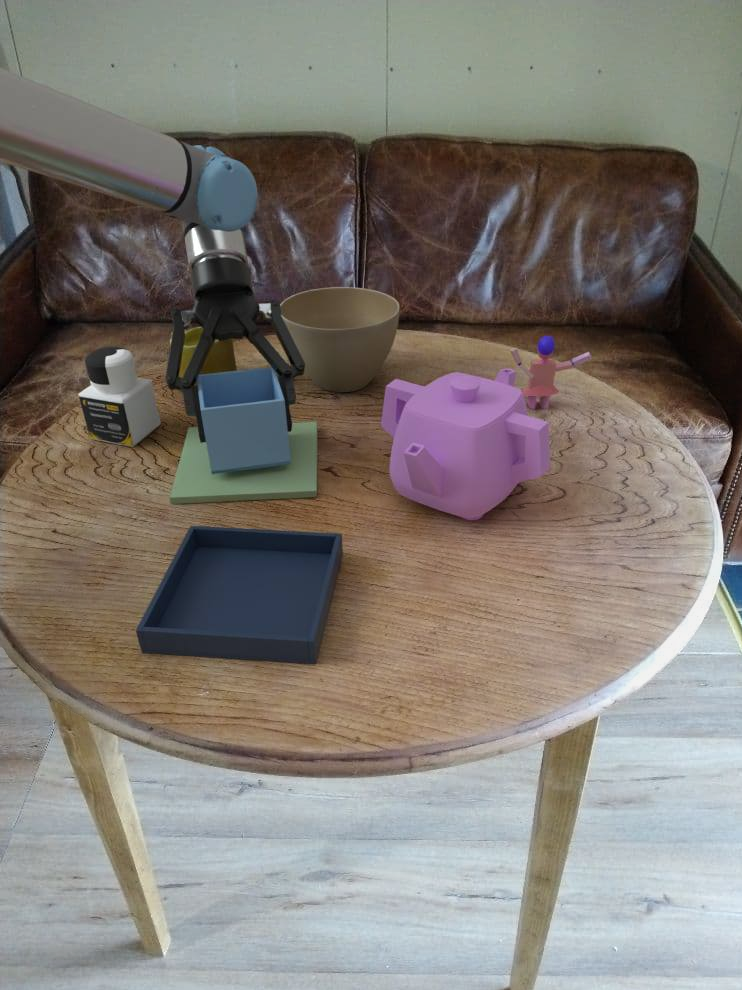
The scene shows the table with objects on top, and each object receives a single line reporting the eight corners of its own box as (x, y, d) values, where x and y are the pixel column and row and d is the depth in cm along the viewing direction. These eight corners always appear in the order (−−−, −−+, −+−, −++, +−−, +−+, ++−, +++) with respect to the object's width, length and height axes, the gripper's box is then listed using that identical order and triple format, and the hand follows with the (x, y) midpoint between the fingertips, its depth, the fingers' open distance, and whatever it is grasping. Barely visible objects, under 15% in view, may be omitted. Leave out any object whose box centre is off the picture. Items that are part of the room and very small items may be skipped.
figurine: (587, 407, 119) (597, 336, 112) (509, 414, 117) (515, 342, 110) (579, 397, 121) (589, 327, 115) (503, 403, 120) (509, 333, 113)
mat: (170, 504, 98) (169, 497, 97) (189, 433, 112) (188, 426, 112) (317, 497, 99) (316, 490, 99) (317, 427, 114) (317, 421, 113)
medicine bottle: (89, 440, 111) (67, 359, 104) (119, 417, 116) (100, 338, 109) (133, 448, 109) (114, 366, 102) (162, 424, 114) (145, 345, 107)
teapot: (406, 544, 91) (406, 428, 82) (369, 464, 105) (367, 358, 96) (560, 520, 95) (576, 406, 86) (505, 446, 110) (515, 342, 101)
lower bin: (141, 652, 77) (135, 630, 76) (194, 546, 91) (190, 525, 89) (316, 664, 76) (314, 641, 74) (343, 554, 90) (341, 533, 88)
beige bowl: (411, 400, 120) (412, 323, 113) (292, 413, 117) (285, 334, 110) (386, 353, 135) (385, 281, 127) (279, 363, 131) (272, 290, 124)
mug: (261, 375, 123) (229, 317, 117) (205, 411, 120) (170, 353, 115) (232, 362, 133) (202, 308, 127) (181, 395, 130) (147, 341, 124)
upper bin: (206, 436, 107) (196, 374, 102) (280, 427, 109) (274, 366, 104) (211, 474, 100) (200, 410, 94) (290, 463, 102) (284, 400, 96)
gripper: (304, 275, 109) (332, 431, 106) (133, 290, 104) (157, 453, 101) (308, 247, 101) (337, 413, 99) (123, 261, 97) (149, 436, 94)
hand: (246, 434), depth 100 cm, fingers closed on upper bin, 10 cm apart
